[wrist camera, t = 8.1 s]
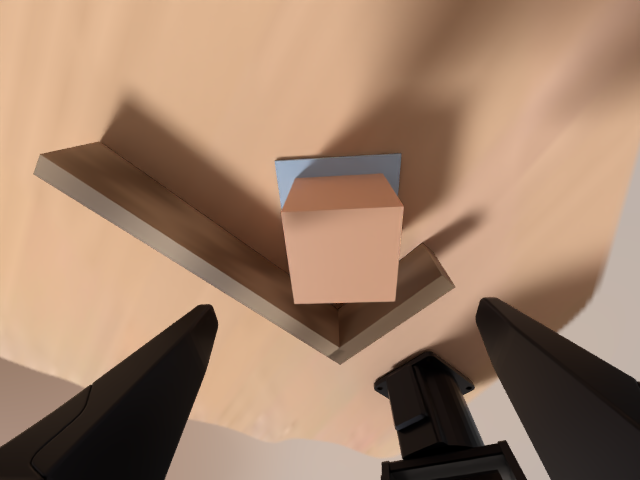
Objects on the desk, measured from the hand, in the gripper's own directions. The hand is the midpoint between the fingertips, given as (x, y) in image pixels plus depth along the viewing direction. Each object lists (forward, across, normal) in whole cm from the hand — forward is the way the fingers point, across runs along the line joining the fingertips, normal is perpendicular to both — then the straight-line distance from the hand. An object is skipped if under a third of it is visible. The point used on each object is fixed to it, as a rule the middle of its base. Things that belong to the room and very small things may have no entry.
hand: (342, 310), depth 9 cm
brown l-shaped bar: (+9, +4, 0) cm, 10 cm away
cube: (+8, 0, 0) cm, 8 cm away
